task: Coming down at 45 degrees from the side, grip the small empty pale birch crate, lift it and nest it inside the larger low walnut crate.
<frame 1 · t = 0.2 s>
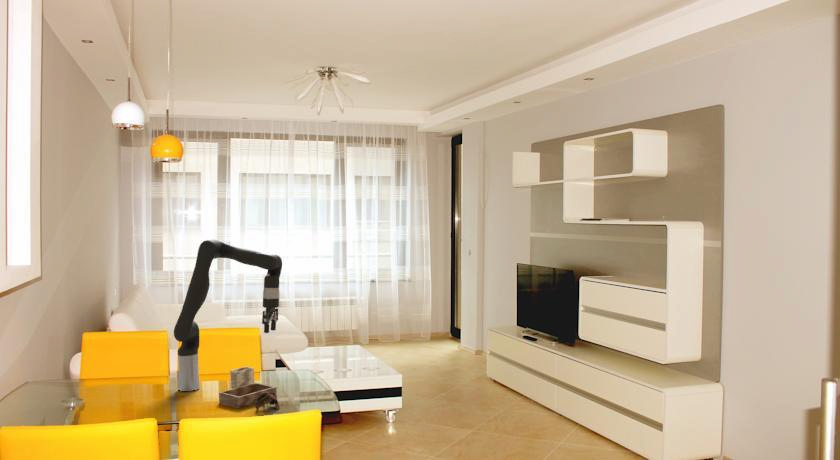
hand: (269, 331, 304), 28 cm above the table, tool pointing down, fingers open, 8 cm apart
birch crate: (243, 392, 305), on the table
walnut crate: (248, 400, 290), on the table
pottery mug: (268, 409, 277), on the table
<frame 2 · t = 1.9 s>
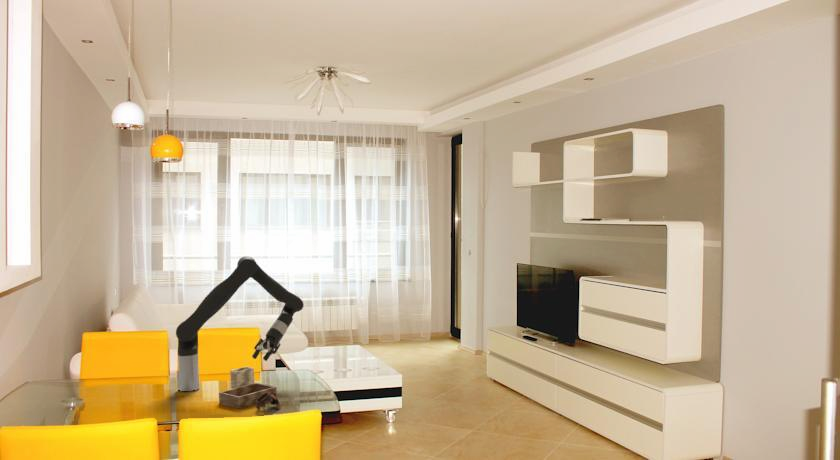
hand: (259, 358, 313), 14 cm above the table, tool tilted 45°, fingers open, 8 cm apart
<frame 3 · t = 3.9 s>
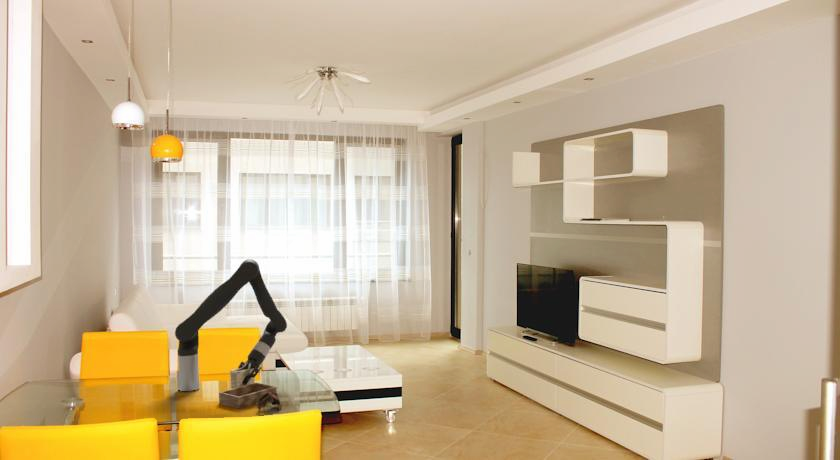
hand: (239, 382, 304), 5 cm above the table, tool tilted 45°, fingers closed on birch crate, 6 cm apart
birch crate: (243, 392, 305), on the table, touching gripper
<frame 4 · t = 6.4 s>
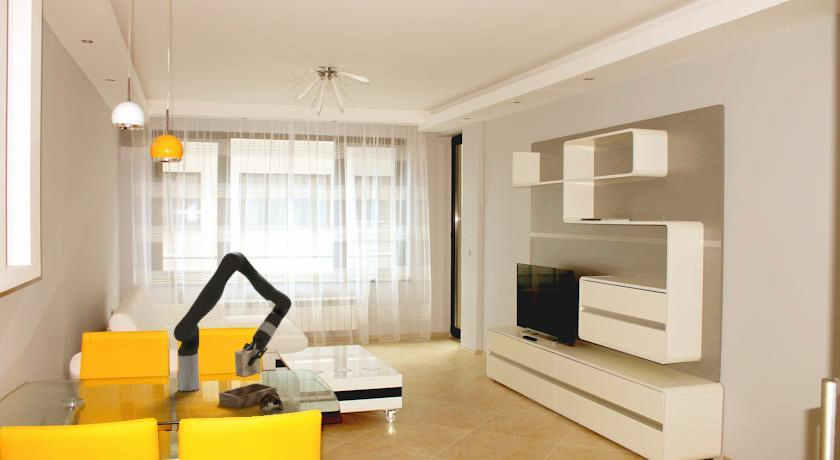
hand: (244, 364, 290), 16 cm above the table, tool tilted 45°, fingers closed on birch crate, 6 cm apart
birch crate: (248, 374, 291), point 12 cm above the table, touching gripper
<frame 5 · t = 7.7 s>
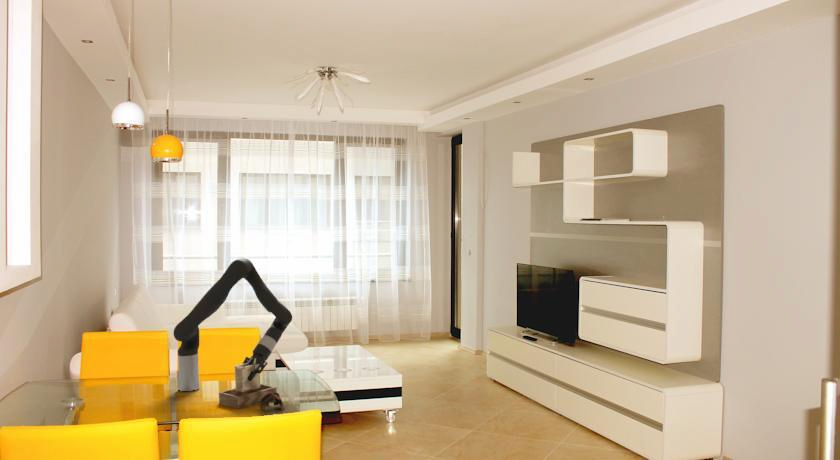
hand: (244, 379, 289), 10 cm above the table, tool tilted 45°, fingers closed on birch crate, 6 cm apart
birch crate: (248, 389, 290), point 5 cm above the table, touching gripper
when the fingers open (7 cm above the table, at t = 8.8 s): birch crate drops 1 cm, resting on walnut crate.
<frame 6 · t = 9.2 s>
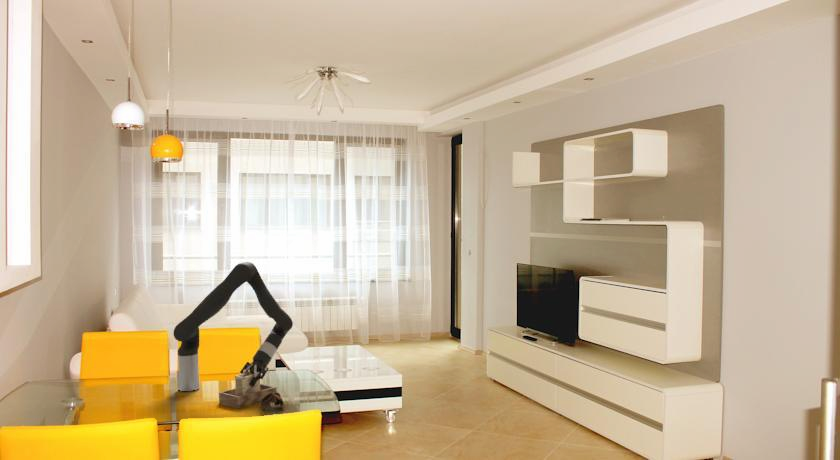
hand: (245, 384, 289), 8 cm above the table, tool tilted 45°, fingers open, 8 cm apart
birch crate: (248, 398, 290), point 1 cm above the table, touching walnut crate
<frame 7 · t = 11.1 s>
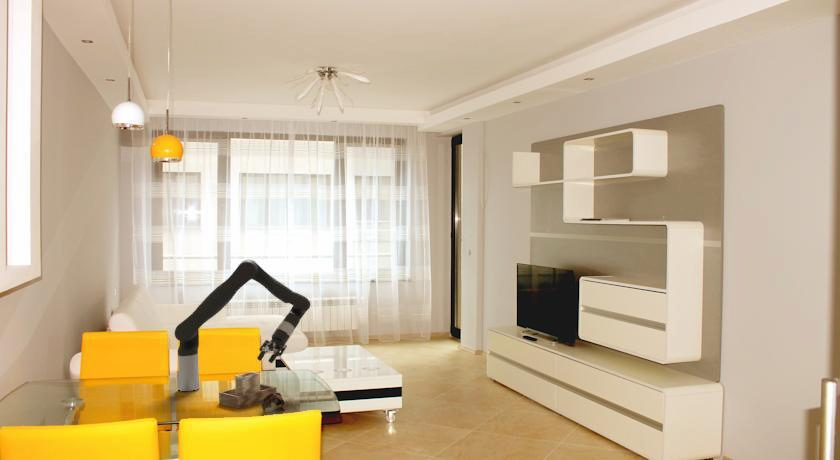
hand: (264, 360, 301), 15 cm above the table, tool tilted 45°, fingers open, 8 cm apart
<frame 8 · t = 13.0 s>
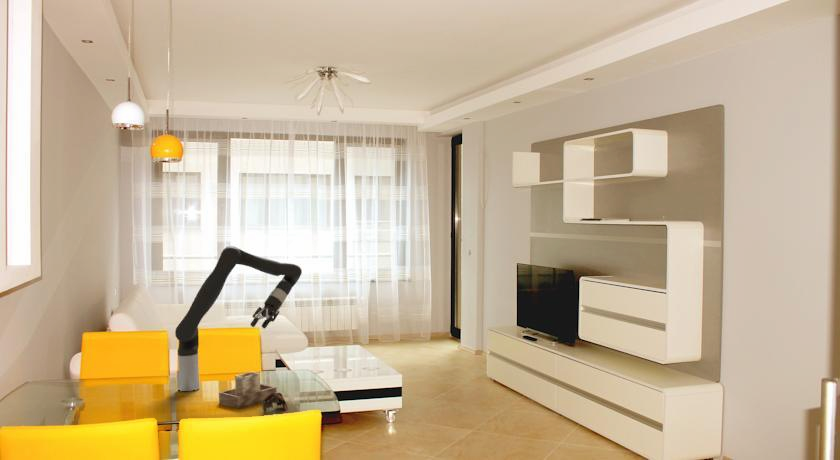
hand: (257, 326, 306), 31 cm above the table, tool tilted 45°, fingers open, 8 cm apart
at the end: birch crate inside the target area on the walnut crate (0.1 cm from its centre), point 0.8 cm above the walnut crate's base; birch crate tilted 0°; the gripper is holding nothing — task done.
